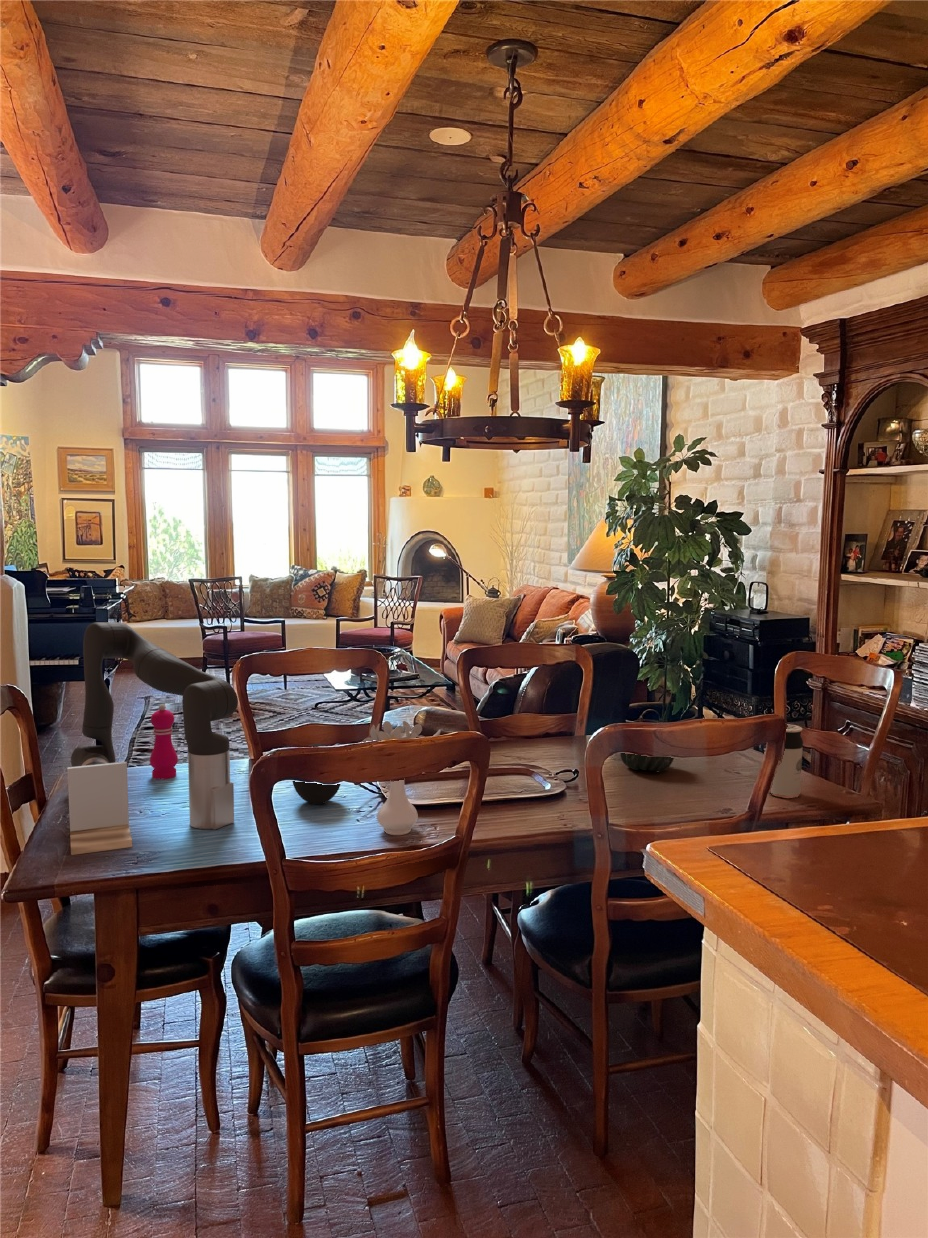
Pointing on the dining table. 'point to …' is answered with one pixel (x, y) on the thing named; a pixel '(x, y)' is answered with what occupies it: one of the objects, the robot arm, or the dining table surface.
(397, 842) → the dining table surface
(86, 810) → the white flat rectangular panel
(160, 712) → the pepper mill
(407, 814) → the flower vase
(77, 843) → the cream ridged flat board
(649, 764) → the squash
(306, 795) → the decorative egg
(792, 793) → the travel mug
